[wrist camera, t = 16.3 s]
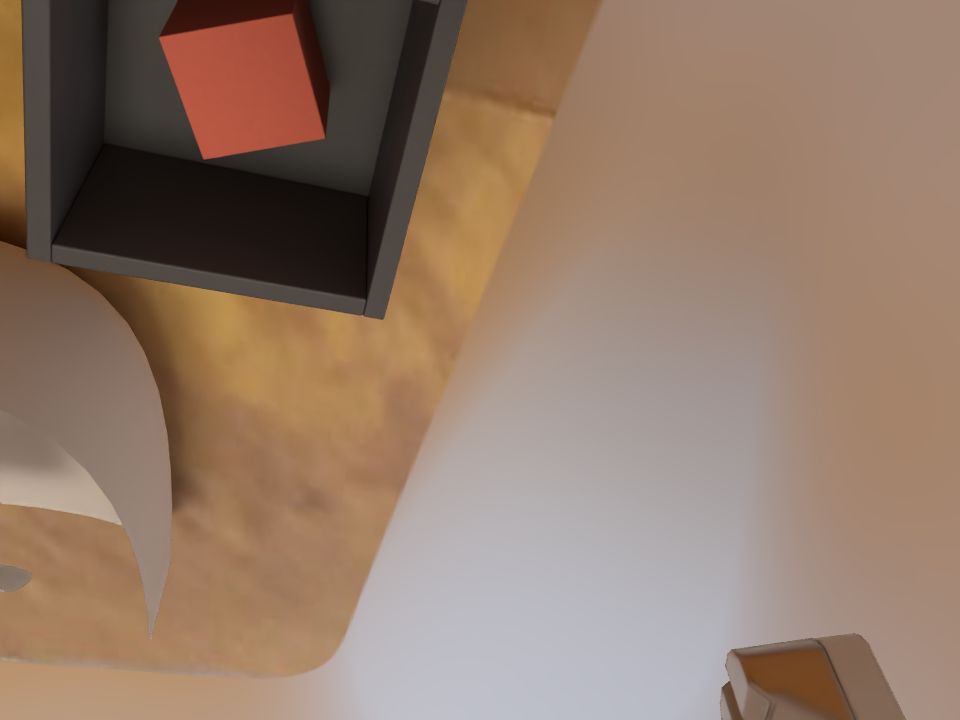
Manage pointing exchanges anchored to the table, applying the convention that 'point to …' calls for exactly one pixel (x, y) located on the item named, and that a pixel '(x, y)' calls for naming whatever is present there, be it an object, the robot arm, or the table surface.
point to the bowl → (80, 415)
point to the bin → (234, 178)
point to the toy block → (247, 73)
